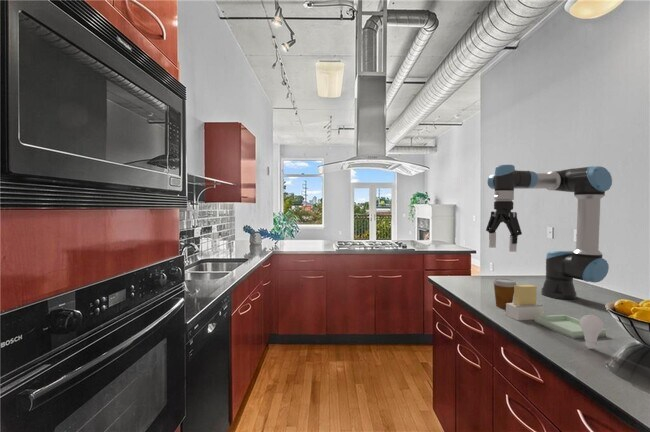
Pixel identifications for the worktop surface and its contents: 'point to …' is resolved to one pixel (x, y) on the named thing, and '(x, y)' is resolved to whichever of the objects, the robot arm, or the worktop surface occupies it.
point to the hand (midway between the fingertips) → (502, 249)
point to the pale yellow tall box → (525, 295)
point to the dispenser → (524, 311)
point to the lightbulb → (591, 329)
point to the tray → (564, 325)
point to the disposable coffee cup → (503, 291)
